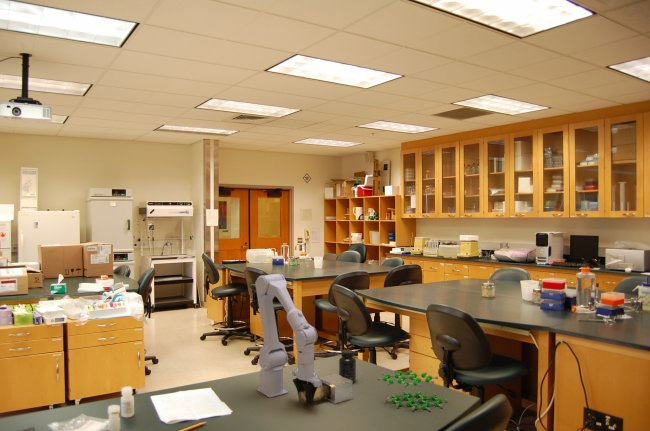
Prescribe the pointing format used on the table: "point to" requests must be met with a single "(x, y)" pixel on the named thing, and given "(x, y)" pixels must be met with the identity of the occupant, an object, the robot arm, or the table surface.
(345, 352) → the supplement bottle
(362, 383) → the table surface
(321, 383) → the housing
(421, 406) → the molecule models
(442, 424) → the table surface
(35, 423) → the table surface
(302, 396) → the amber cylinder
